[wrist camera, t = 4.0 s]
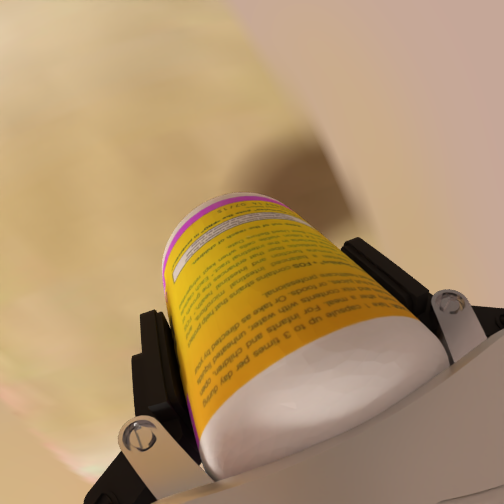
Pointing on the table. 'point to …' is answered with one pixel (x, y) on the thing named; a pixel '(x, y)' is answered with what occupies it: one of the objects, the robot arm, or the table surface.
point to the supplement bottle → (281, 334)
